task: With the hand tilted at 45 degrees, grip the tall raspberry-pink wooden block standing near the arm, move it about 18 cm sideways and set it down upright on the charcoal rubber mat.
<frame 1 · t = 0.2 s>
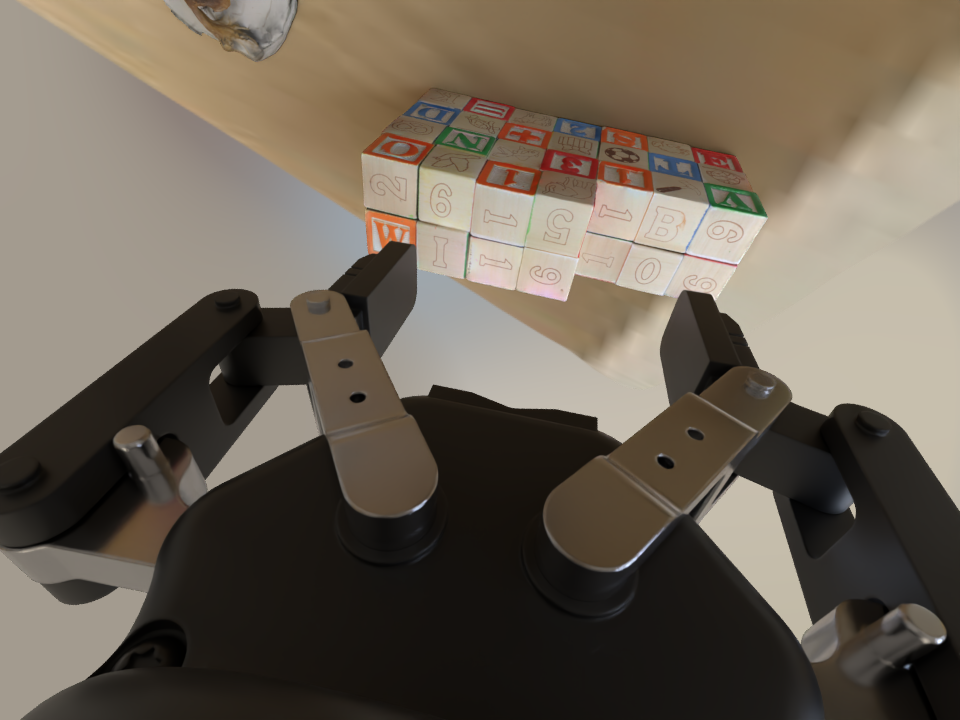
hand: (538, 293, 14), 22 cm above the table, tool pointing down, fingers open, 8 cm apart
stack of blocks: (568, 163, 33), on the table
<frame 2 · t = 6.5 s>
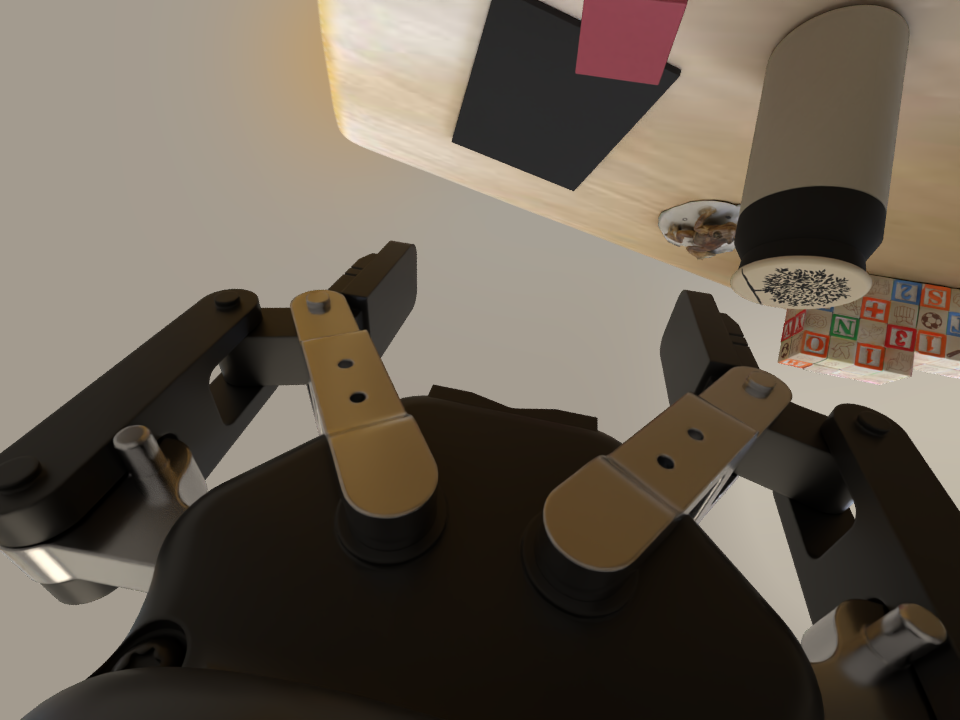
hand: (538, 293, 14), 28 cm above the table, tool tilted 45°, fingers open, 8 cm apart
stack of blocks: (891, 287, 59), on the table
travel mug: (833, 52, 32), on the table
frog figurine: (707, 223, 56), on the table
mat: (546, 110, 44), on the table
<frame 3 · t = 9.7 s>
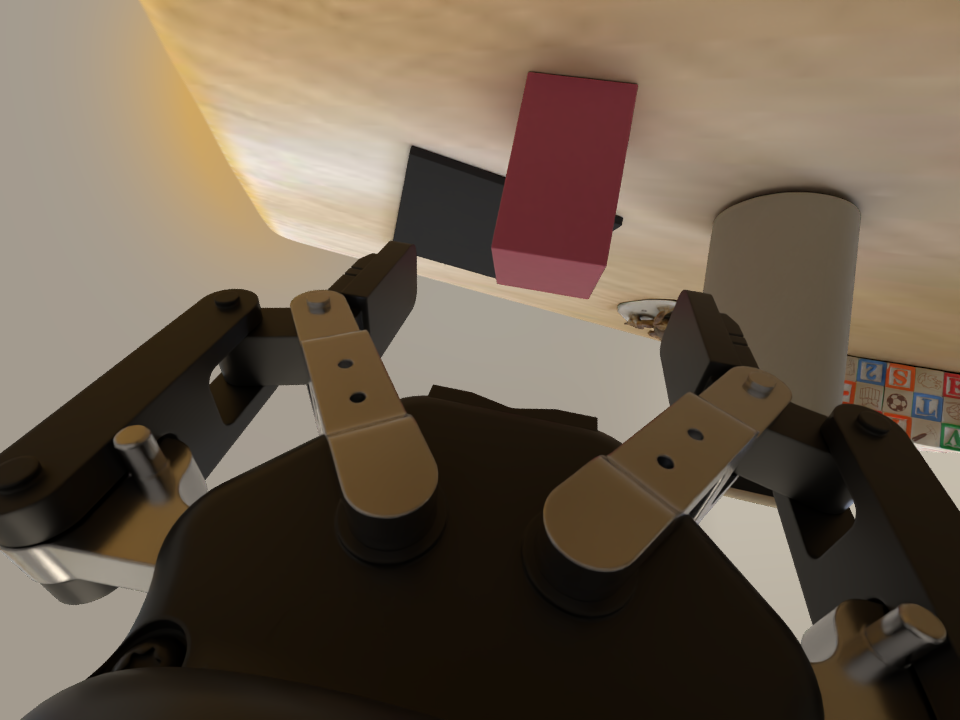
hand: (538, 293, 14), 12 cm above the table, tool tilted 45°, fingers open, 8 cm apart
stack of blocks: (856, 361, 57), on the table
travel mug: (781, 217, 29), on the table
block: (575, 115, 24), on the table
frog figurine: (667, 312, 53), on the table
mat: (486, 233, 41), on the table
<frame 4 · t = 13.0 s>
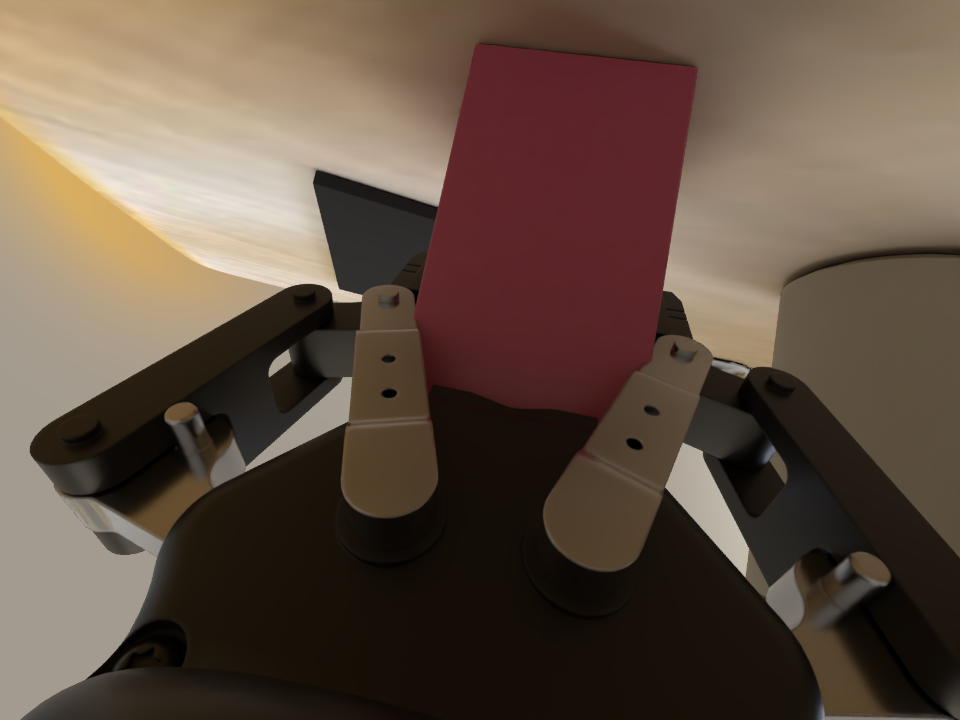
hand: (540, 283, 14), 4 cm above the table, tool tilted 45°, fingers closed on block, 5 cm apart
travel mug: (897, 283, 19), on the table
block: (571, 126, 13), on the table, touching gripper
frog figurine: (689, 364, 43), on the table
mat: (452, 278, 30), on the table
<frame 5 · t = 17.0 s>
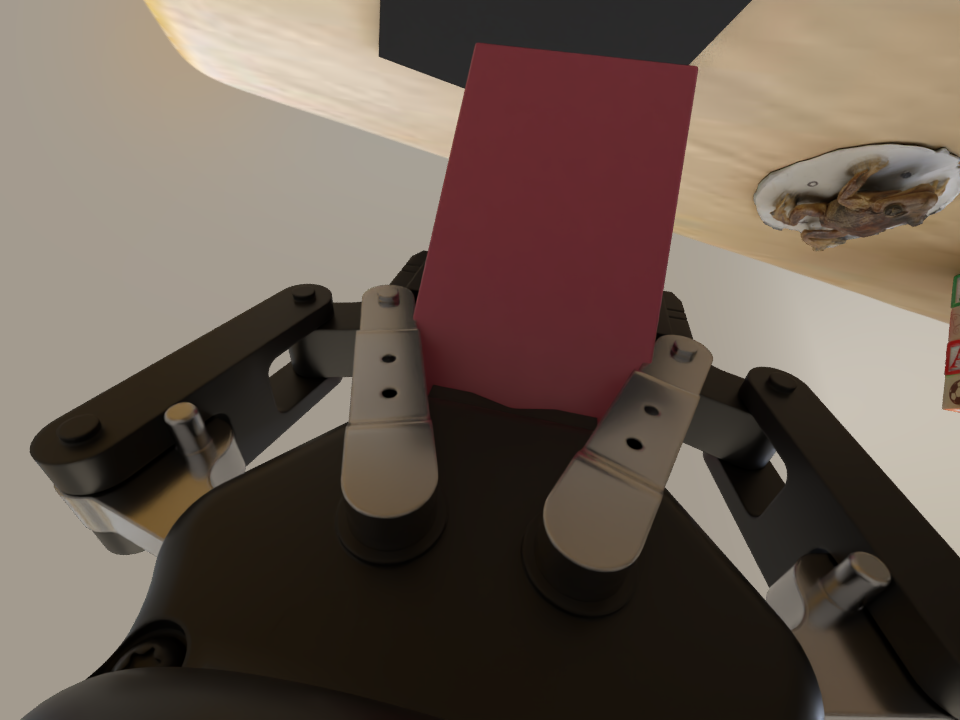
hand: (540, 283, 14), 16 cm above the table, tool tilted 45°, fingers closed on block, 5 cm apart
block: (571, 126, 13), point 12 cm above the table, touching gripper
frog figurine: (849, 190, 32), on the table
when the fingers open (5 cm above the table, at t = 21.1 s): block stays where it is, resting on mat.
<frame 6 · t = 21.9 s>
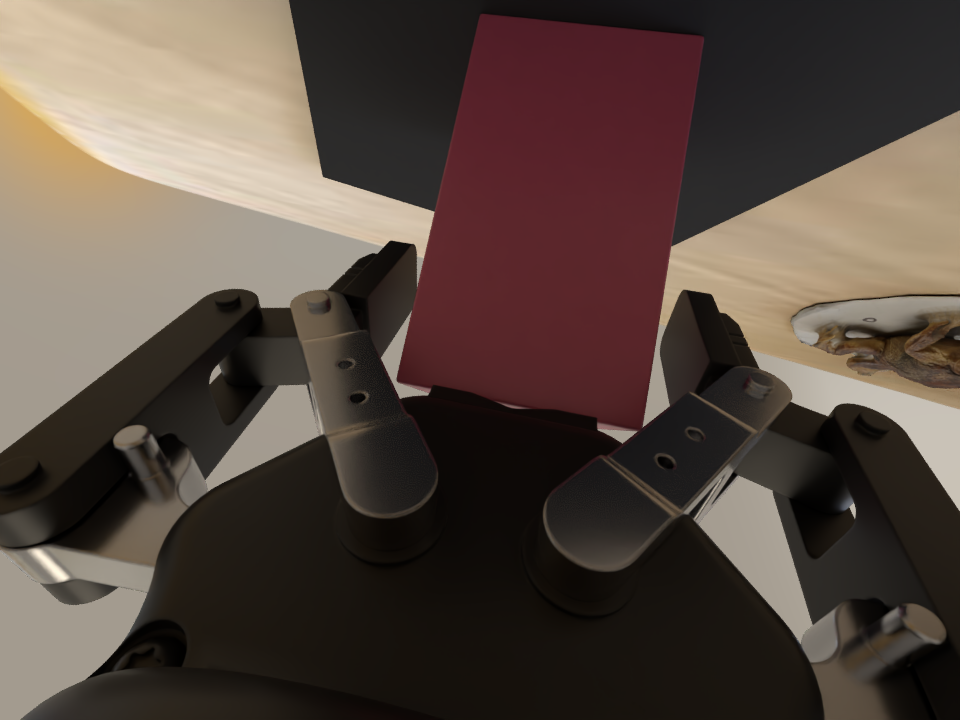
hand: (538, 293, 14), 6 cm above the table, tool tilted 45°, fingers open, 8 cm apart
block: (575, 102, 13), point 1 cm above the table, touching mat
frog figurine: (912, 323, 26), on the table
mat: (577, 87, 13), on the table
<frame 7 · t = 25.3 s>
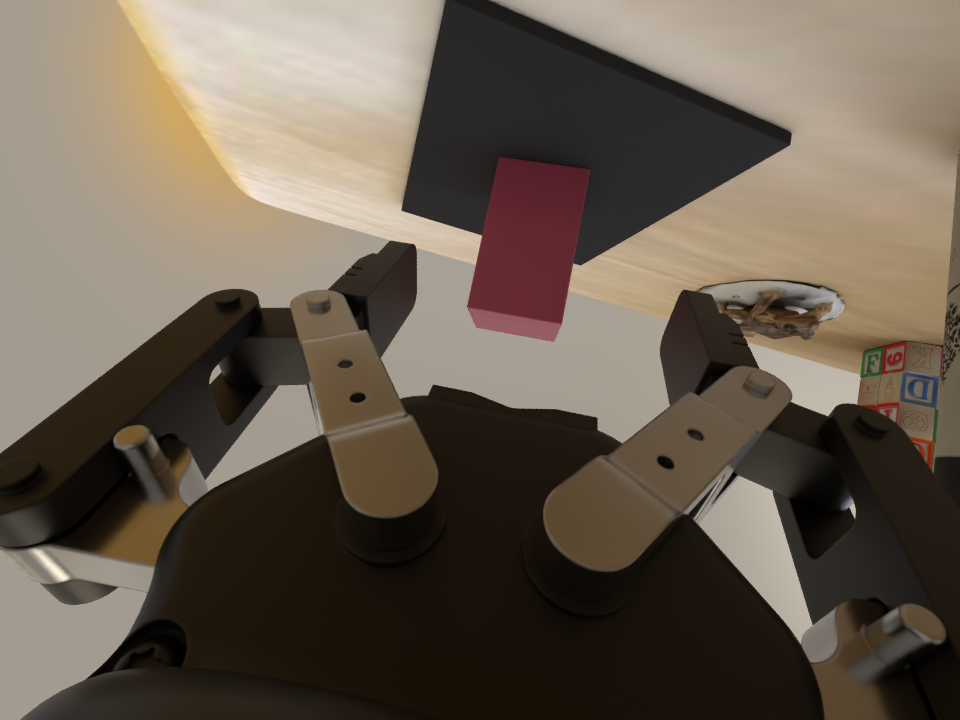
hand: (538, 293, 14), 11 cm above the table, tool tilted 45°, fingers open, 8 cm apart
block: (542, 186, 28), point 1 cm above the table, touching mat
frog figurine: (765, 299, 40), on the table
mat: (543, 178, 28), on the table
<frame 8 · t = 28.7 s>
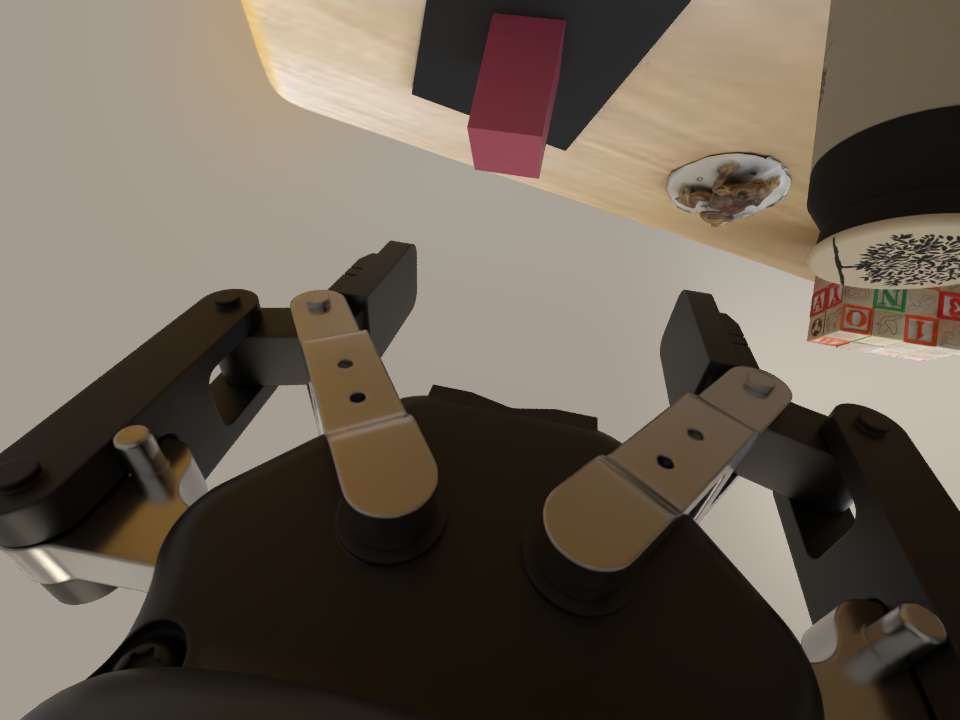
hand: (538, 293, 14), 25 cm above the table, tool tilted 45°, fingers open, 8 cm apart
stack of blocks: (937, 247, 50), on the table
block: (528, 46, 34), point 1 cm above the table, touching mat
frog figurine: (726, 183, 47), on the table
mat: (529, 41, 34), on the table
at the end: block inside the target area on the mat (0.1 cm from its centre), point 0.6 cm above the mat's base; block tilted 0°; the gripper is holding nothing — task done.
